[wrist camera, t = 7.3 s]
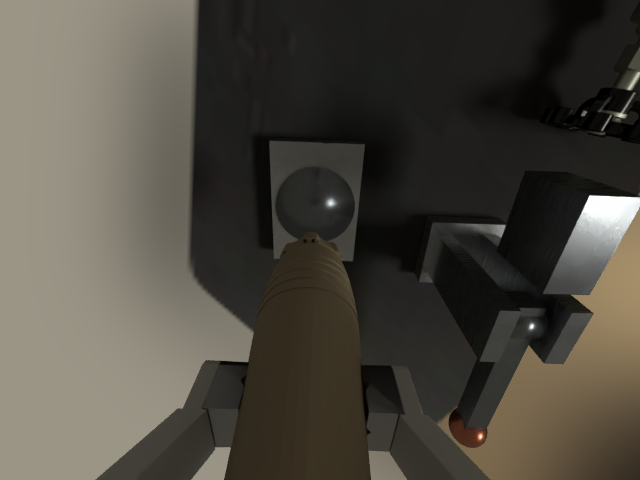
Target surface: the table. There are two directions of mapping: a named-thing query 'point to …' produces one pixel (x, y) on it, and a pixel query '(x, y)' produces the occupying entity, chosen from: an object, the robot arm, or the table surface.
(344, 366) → the handle
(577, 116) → the valve
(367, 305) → the table surface
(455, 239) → the frame
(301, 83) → the table surface
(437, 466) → the robot arm
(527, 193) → the lever
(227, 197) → the table surface
